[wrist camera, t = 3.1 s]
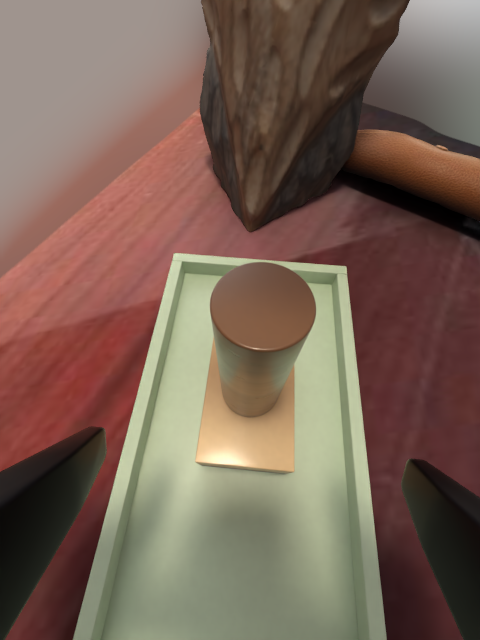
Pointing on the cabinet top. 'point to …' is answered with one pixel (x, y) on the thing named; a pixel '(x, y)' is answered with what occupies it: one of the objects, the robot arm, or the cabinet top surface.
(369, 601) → the tray
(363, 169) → the sunglasses case
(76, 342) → the cabinet top surface
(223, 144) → the jagged stone chunk
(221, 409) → the rubber stamp
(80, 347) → the cabinet top surface
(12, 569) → the robot arm
